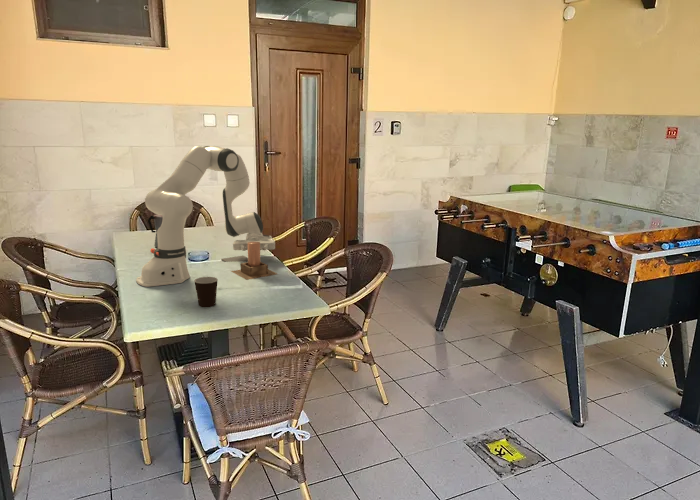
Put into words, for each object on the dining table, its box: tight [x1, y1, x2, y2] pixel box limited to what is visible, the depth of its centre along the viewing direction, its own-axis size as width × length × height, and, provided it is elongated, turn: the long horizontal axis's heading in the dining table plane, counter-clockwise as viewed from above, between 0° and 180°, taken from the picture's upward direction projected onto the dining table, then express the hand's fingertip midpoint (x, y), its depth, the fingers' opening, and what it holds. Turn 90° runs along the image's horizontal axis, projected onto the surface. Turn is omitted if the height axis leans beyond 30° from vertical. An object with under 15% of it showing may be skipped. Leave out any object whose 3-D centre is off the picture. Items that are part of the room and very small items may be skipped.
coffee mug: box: [194, 276, 218, 309], centre depth 204 cm, size 12×9×10 cm
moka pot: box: [147, 214, 163, 248], centre depth 288 cm, size 10×15×20 cm, turn 148°
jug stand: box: [230, 260, 278, 281], centre depth 242 cm, size 16×16×5 cm
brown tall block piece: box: [247, 242, 261, 267], centre depth 239 cm, size 8×6×14 cm
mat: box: [221, 255, 248, 263], centre depth 265 cm, size 12×12×1 cm
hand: (254, 248), depth 251 cm, fingers open, 8 cm apart
